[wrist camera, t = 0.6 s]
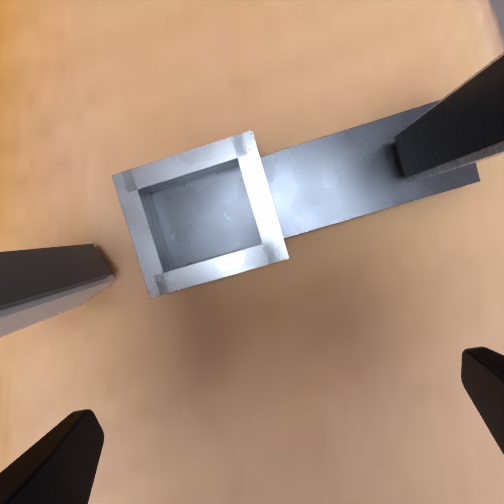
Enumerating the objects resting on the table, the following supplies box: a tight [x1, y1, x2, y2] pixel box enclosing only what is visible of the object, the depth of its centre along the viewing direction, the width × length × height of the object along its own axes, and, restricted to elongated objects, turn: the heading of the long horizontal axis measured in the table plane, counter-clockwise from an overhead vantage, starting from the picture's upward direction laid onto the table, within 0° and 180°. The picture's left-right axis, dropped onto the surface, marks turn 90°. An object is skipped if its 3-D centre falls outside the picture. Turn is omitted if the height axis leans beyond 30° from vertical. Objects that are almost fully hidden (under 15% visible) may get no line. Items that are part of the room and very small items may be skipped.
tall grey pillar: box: [0, 244, 116, 337], centre depth 16 cm, size 3×4×12 cm
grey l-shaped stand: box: [112, 52, 504, 298], centre depth 14 cm, size 7×20×14 cm, turn 106°
